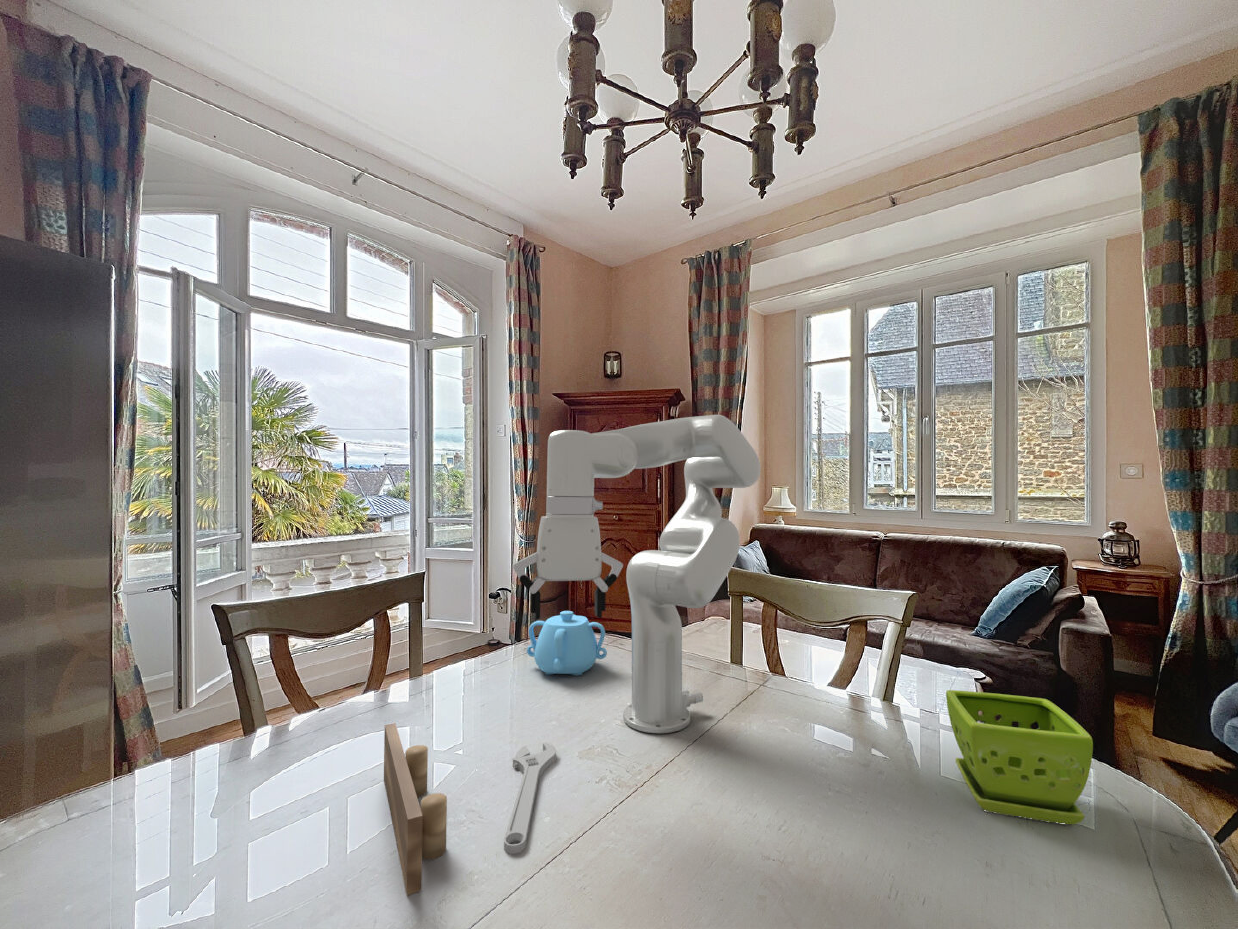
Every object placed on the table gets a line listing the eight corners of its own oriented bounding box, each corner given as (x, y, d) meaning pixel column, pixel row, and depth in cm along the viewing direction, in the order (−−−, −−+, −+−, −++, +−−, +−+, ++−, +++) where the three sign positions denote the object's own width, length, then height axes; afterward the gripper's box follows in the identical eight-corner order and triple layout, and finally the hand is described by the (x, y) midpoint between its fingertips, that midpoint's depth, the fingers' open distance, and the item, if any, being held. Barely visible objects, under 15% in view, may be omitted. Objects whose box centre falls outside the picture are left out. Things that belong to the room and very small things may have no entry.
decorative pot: (521, 665, 132) (521, 609, 133) (579, 654, 141) (579, 601, 141) (550, 686, 119) (550, 624, 119) (612, 672, 127) (612, 614, 128)
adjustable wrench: (524, 859, 65) (524, 844, 65) (471, 857, 65) (471, 842, 65) (558, 753, 90) (558, 742, 90) (520, 752, 90) (520, 741, 90)
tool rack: (420, 770, 83) (421, 718, 84) (456, 878, 61) (457, 806, 61) (383, 779, 81) (384, 725, 81) (406, 895, 58) (407, 819, 58)
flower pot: (1052, 784, 80) (1050, 697, 80) (1101, 843, 67) (1098, 739, 67) (944, 768, 85) (943, 685, 85) (970, 820, 71) (968, 722, 72)
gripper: (618, 508, 91) (617, 610, 90) (514, 507, 88) (512, 613, 87) (628, 509, 84) (626, 621, 83) (514, 508, 81) (512, 624, 80)
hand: (567, 616), depth 85 cm, fingers open, 9 cm apart
